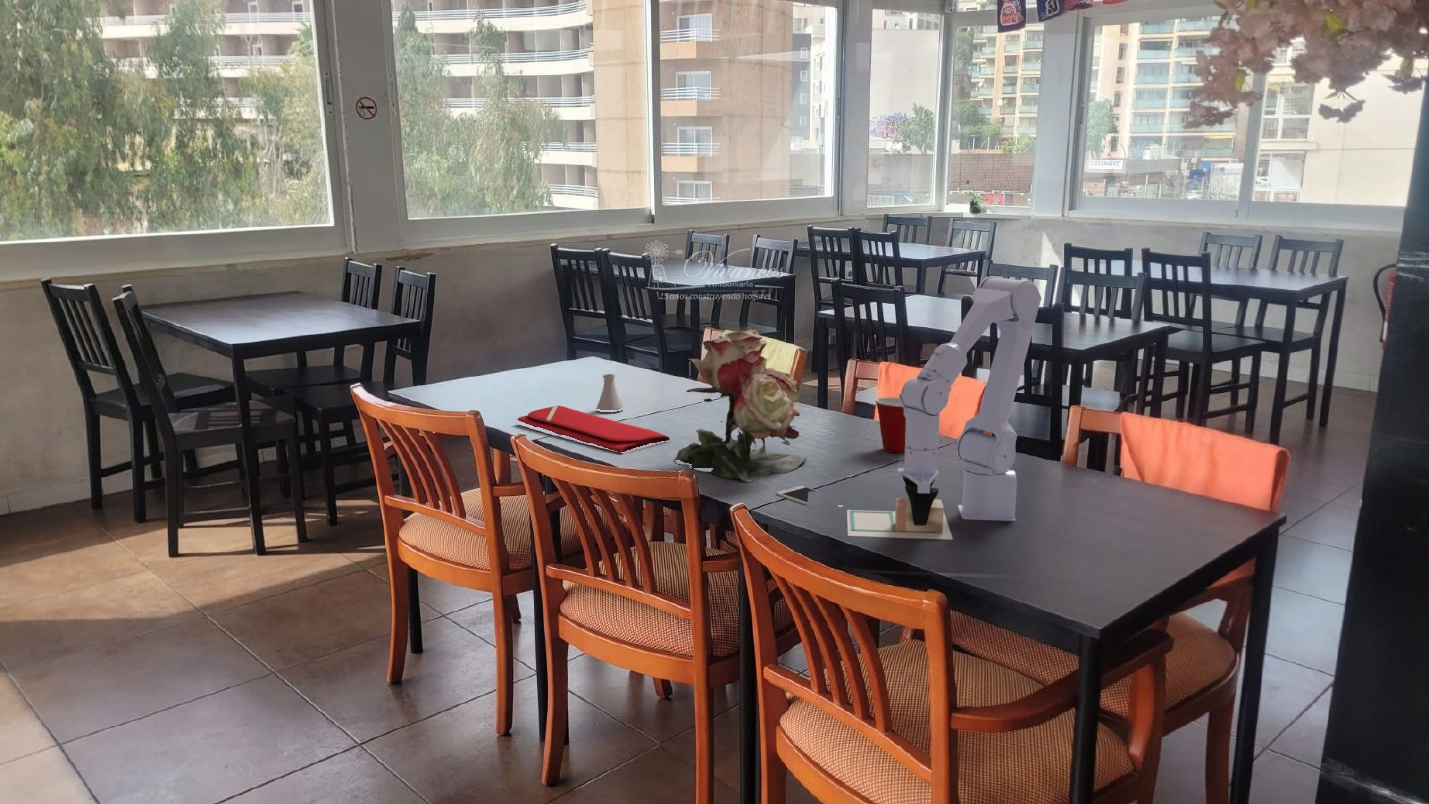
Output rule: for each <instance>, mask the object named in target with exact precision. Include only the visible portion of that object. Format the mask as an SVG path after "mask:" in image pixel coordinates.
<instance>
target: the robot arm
mask: <svg viewBox="0 0 1429 804" xmlns="http://www.w3.org/2000/svg"><path fill="white" fill-rule="evenodd" d="M972 300H973V304H972V305H971V307H970V309H969V311H968V312H967V313H966V315H965V317H964V319H962V322H961V323H960V325H959V327H958V328H957V330H956V331H955V333H954V335H953V337H952V339H951V340H950V341H949V342H946V343H942V344H940V345H938V346H937V347H936V348H935V349H934V350H933V354H932V355H931V357H930V358H929V359H928V360H927V362H926V364H924V366H923V367H922V369H921V371H920V372H918V374H917V376H915V377H912V378H910V379H909V380H907V381H906V382H905V383H904V385H903V386H902V388H901V393H899V394H898V398H899V399H900V402H901V404H902V406H903V408H904V416H905V418H906V433H905V452H904V467H902V468H900V467H899V468H897V472H896V473H897V475H898V476H902V480H903V482H904V484H905V485H904V489H905V492H906V495H907V496H908V499H910V503H911V509H912V518H913V523H914V525H918V526H926V524H927V521H928V517H929V513H930V509H931V506H932V503H933V501H934V499H936V498H937V496H938V495H939V492H940V491H939V488H938V487H932V486H933V484H934V482H935V481H936V479H937V478H938V476H939V470H938V460H939V458H938V457H939V438H940V437H939V436H940V413H941V412H942V411H943V410H944V409H945V408H946V407H947V406H948V403H949V395H950V393H951V391H952V390H951V389H952V385H953V384H954V382H955V381H956V380H957V379H958V377H959V375H960V374H961V373H962V372H963V370H964V368H965V367H966V366H967V364H968V358H967V357H968V356H967V353H968V352H969V351H970V349H972V348H973V346H974V345H975V344H976V342H977V341H978V340H979V339H981V336H982V335H983V334H984V333H985V332H986V331H987V329H988V328H989V327H990V326H991V325H992V323H995V324H996V325H997V328H998V330H999V332H1000V334H999V338H998V341H997V342H998V343H997V346H996V349H995V352H994V356H993V360H992V363H991V366H990V367H991V368H990V370H989V375H988V379H987V382H986V386H985V389H984V393H983V397H982V400H981V403H980V407H979V410H978V414H977V415H975V416H973V417H971V418H970V419H968V420H967V421H966V422H965V423H964V424H965V425H964V428H963V430H962V431H961V433H960V435H959V436H958V438H957V441H956V444H955V454H956V457H957V458H958V459H959V460H960V461H961V464H960V465H961V467H963V468H964V469H963V485H962V486H963V487H962V503H961V504H958V505H957V508H958V511H959V514H960V516H961V519H963V520H975V521H978V520H979V521H1004V522H1005V521H1009V522H1015V521H1016V506H1017V505H1016V503H1017V486H1018V485H1017V484H1018V482H1017V481H1018V480H1017V474H1016V471H1015V470H1013V469H1010V468H1011V467H1012V466H1013V464H1014V461H1015V460H1016V442H1017V438H1018V434H1017V433H1016V431H1015V430H1014V429H1013V427H1012V426H1011V424H1010V423H1009V419H1010V416H1011V412H1012V408H1013V404H1014V401H1015V397H1016V393H1017V391H1018V386H1019V383H1020V379H1021V375H1022V372H1023V368H1024V364H1025V361H1026V358H1027V354H1028V350H1029V347H1030V344H1031V340H1032V339H1031V338H1032V335H1033V333H1034V332H1033V331H1034V327H1035V323H1036V319H1037V315H1038V311H1039V308H1040V305H1041V301H1042V296H1041V294H1040V291H1039V289H1038V287H1037V285H1036V283H1035V282H1033V281H1032V280H1029V279H1024V280H1021V279H1012V278H1002V277H997V276H993V275H990V276H987V277H985V278H983V279H982V280H981V281H980V283H979V285H978V287H977V288H976V289H975V290H974V291H973V294H972ZM986 432H989V433H992V434H994V435H991V434H988V433H986Z"/></svg>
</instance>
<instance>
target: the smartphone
mask: <svg viewBox="0 0 1429 804" xmlns="http://www.w3.org/2000/svg"><path fill="white" fill-rule="evenodd" d="M809 492H820V491H818V490H817V489H813V488H811V487H807V486H804V485H798V486H794V487H791V488H787V489H783V490H779V491H776V495H777V496H779V497H782V498H786V499H787V500H791V501H794V502H796V503H799V504H802V505H805V506H808V503H809V501H808V500H809ZM837 507H839V508H842V507H844V505H842V504H840V505H839V504H838V505H837Z"/></svg>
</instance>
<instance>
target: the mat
mask: <svg viewBox="0 0 1429 804" xmlns="http://www.w3.org/2000/svg"><path fill="white" fill-rule="evenodd" d="M846 518H847V519H846V520H847V521H846V522H847V536H848V537H869V538H892V539H893V538H897V539H921V540H922V539H923V540H952V541H953V539H954V538H953V536H952V532H951V530H950V526H949V523H948V520H947V517H946V514H945V512H944V513H943V532H922V531H896V525H895V510H894V511H893V510H892V511H891V510H890V511H889V510H866V509H865V510H860V509H858V510H857V509H855V510H854V509H847V510H846Z"/></svg>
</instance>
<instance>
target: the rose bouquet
mask: <svg viewBox="0 0 1429 804" xmlns="http://www.w3.org/2000/svg"><path fill="white" fill-rule="evenodd" d="M763 339H764V338H763V337H762V336H761V335H760V333H759V332H758V330H757V329H756V328H752V327H750V326H748V327H744V328H741V331H735V330H734V329H732V332H729V333H726V334H724V336H722V335H720V336H718V338H715V339H712V340H704V341H702V344H703V348H704V350H706V351H707V353H705V356H704V358H703V360H700V359H699V358H689V357H688V361H692V363H693V365H694V367H695V368H696V369H697V371H699V374H700V375H701V377H702V378H704V380H705V381H706V382H707V383H708V384H709V385H710V386H711V387H694V388H690V389H689V388H688V389H687V390H685V392H686V393H692V392H693V393H701V394H702V393H703V394H716V393H718V394H721V395H720V396H718V397H717V398H718V399H719V397H720V398H724V397H728V403H729V404H728V412H727V413H726V421H725V440H724V439H723V438H722V437H720V436H718V435H716V434H715V433H714V431H712V430H711V431H710V430H707V429H704V428H698V429H697V430H695V432H696V433H697V435H698V438H697V440H698V441H699V442H700V443H696V442H692V443H690V444H689V445H688V446H685V447H683V448H681V449H679V450H678V451H677V454H676V457H675V458H674V459H675V460H680V461H682V462H684V463H689V464H692V465H691V466H692V467H691V468H692V469H691V470H693V469H694V468H713V470H712V471H711V472H710V473H711V474H714V475H717V476H719V477H722V478H726V479H731V480H742V481H743V482H745V483H751V482H755V481H758V480H759V479H761V478H762V480H763V481H765V482H767V480H766V479H767V477H768V476H769V475H770V474H783V473H784V474H785V473H787V474H788V473H789V472H791V471H794V470H796V469H797V468H798V467H800V465H801V464H802V463H803V462H805V461H806V460H807V459H808V456H803V457H801V456H799V455H794V454H793V453H790V454H783V453H775V452H770V451H768V450H766V441H765V440H766V439H767V438H768V437H770V438H771V439H772V438H775V437H776V438H779V439H781V440H783V441H782V442H781V443H782V444H784V445H786V446H790V445H791V443H790V441H789V440H787V439H790V440H795V439H798V437H799V436H800V431H798V430H797V427H796V426H794V425H793V426H792V425H791V423H792V422H793V421H794V419H795V417H799V416H801V414H800V412H799V410H798V408H797V406H796V405H795V404H794V403H797V401H798V399H799V393H798V389H797V387H796V385H797V384H798V382H797V380H795V379H794V378H793V377H792V375H791V374H790V373H787V372H783V371H779V370H776V369H774V368H773V367H768V368H767V367H766V365H767V361H768V359H767V358H766V357H764V356H762V352H763V350H764V348H766V347H767V346H766V345H768V342H767V341H766V340H763ZM703 401H704V402H707V403H711V402H713V400H712V398H704V399H703ZM720 423H724V421H723V420H721V421H720ZM735 430H737V433H738V434H737V436H736V437H737V439H733V438H732V433H733V431H735ZM740 431H741V432H740ZM755 440H761V441H762V447H760V448H758V449H757V446H756V444H757V442H756V441H755ZM753 444H754V447H755V448H756V449H753V450H752V448H751V447H752V445H753ZM751 463H752V464H751ZM751 465H752V466H754V468H755V469H754V468H752V469H753V470H752V469H751ZM689 467H690V466H688V467H685V468H686V469H688V468H689ZM750 469H751V470H750ZM750 472H751V473H750ZM710 473H709V474H710ZM768 482H770V480H769V481H768ZM761 487H762V486H761Z"/></svg>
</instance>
